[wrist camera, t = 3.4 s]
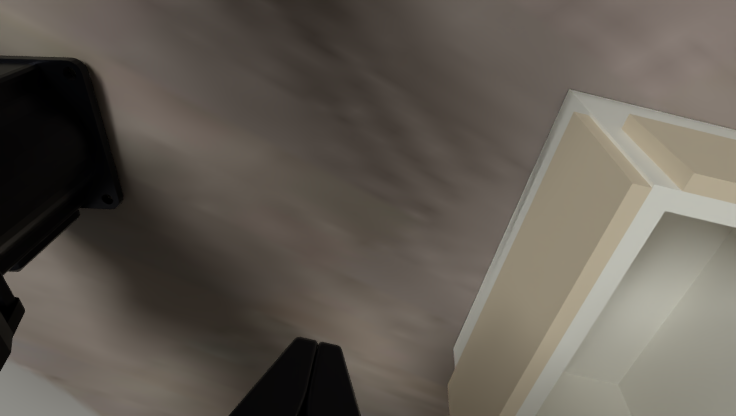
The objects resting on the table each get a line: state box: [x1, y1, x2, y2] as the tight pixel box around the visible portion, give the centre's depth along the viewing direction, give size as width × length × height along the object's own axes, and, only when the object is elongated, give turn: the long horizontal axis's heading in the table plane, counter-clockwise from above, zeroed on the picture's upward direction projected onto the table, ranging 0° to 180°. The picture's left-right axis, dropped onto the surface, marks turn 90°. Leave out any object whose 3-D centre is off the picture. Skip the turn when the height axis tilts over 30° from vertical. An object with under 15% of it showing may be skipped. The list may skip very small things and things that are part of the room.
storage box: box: [447, 89, 736, 416], centre depth 19 cm, size 10×15×8 cm, turn 168°
